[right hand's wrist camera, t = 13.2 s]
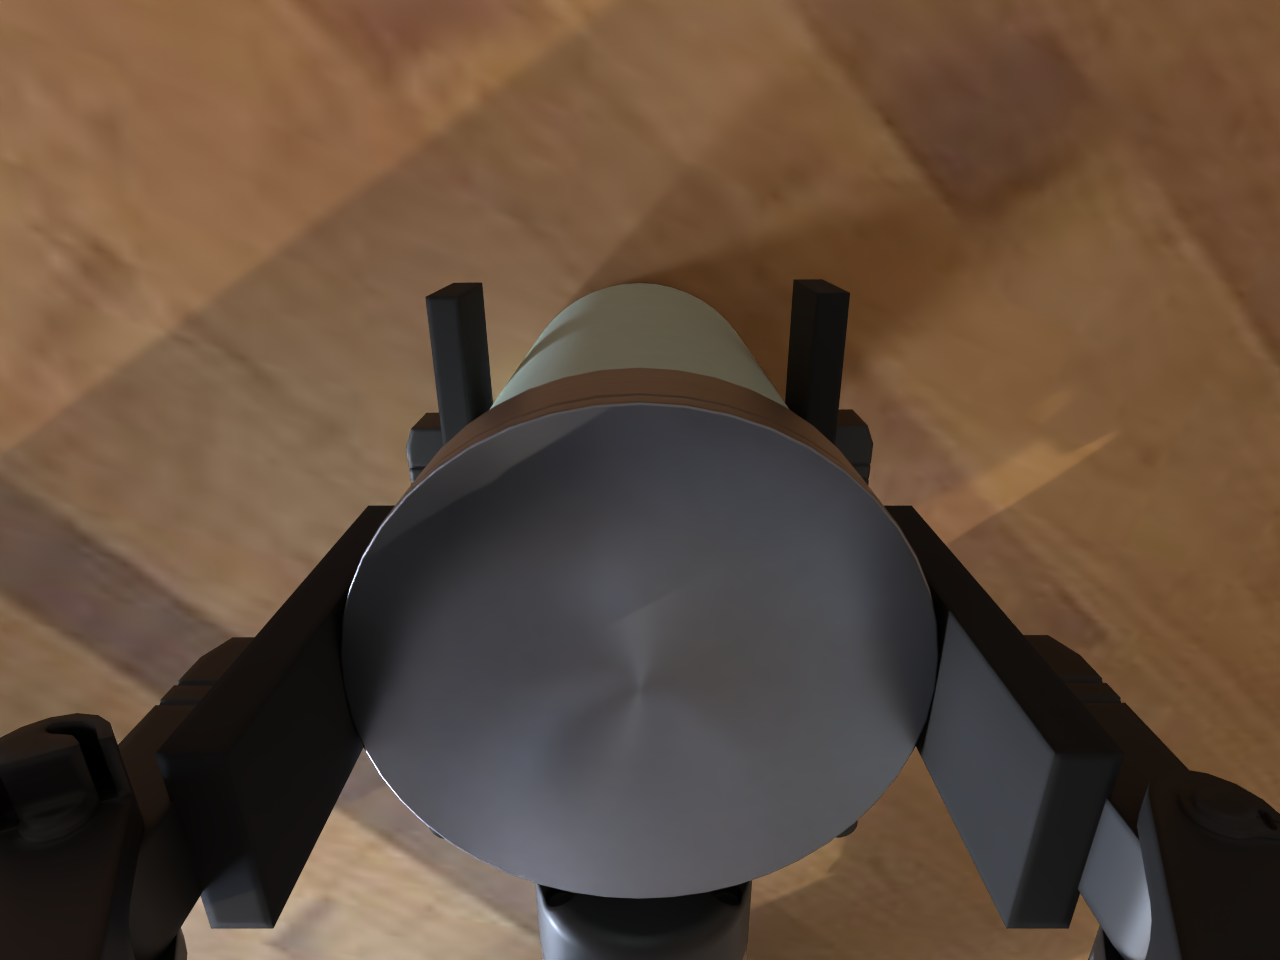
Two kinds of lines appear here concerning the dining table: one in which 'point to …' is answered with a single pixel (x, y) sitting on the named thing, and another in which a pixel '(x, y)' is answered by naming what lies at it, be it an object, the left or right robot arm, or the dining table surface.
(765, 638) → the lid
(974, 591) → the right robot arm
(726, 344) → the jar
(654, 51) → the dining table surface
